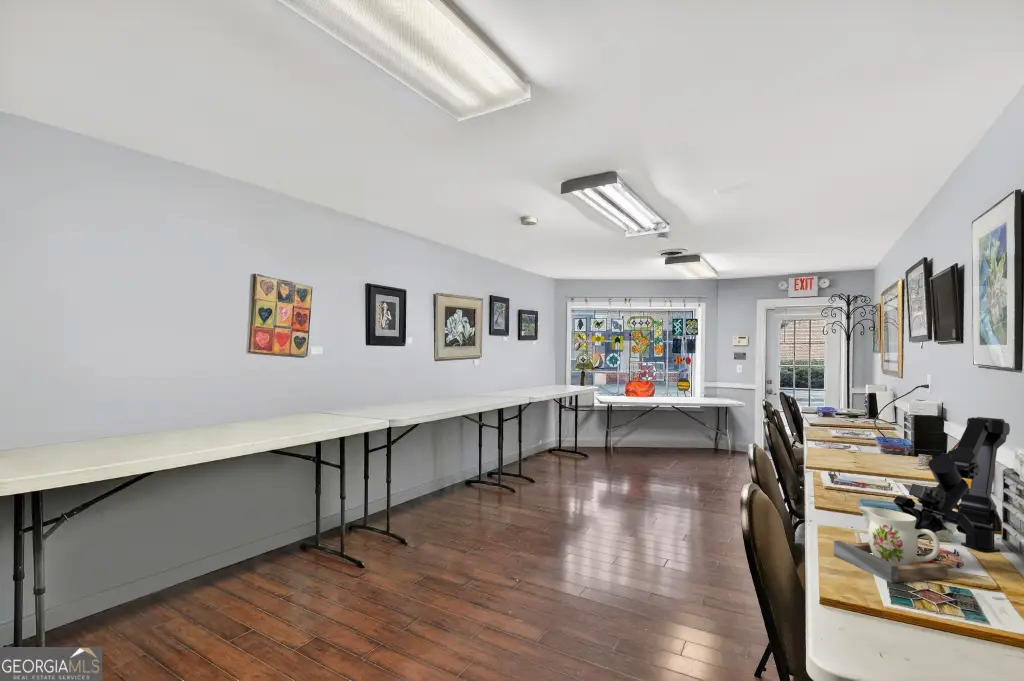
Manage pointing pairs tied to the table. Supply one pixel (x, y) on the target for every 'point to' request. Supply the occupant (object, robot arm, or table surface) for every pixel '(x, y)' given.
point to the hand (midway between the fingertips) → (913, 537)
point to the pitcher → (896, 536)
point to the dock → (886, 564)
